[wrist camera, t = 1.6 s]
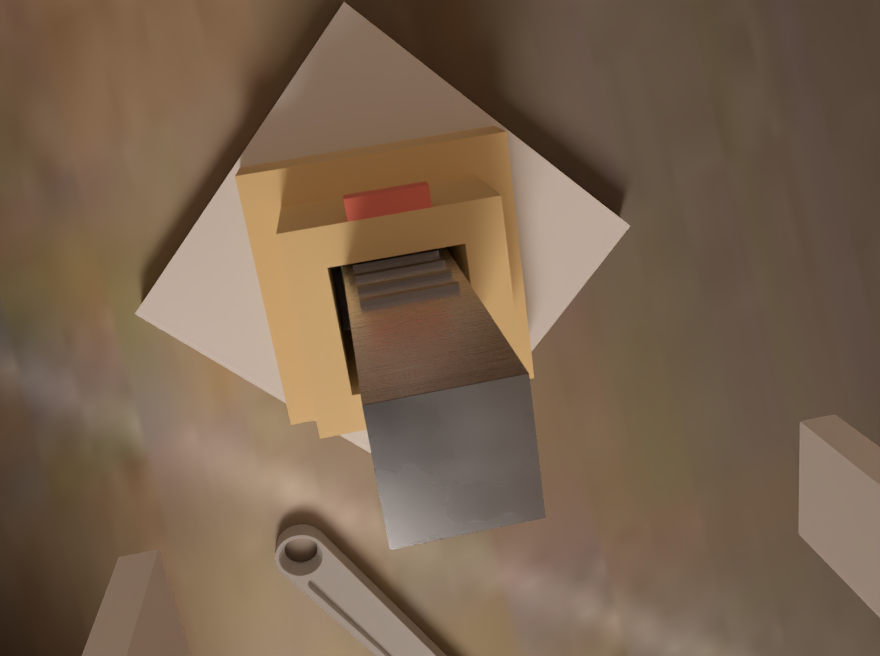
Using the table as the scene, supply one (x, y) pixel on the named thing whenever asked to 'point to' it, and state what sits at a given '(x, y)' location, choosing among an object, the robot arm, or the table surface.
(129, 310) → the table surface
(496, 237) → the stand
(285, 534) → the adjustable wrench
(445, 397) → the column
